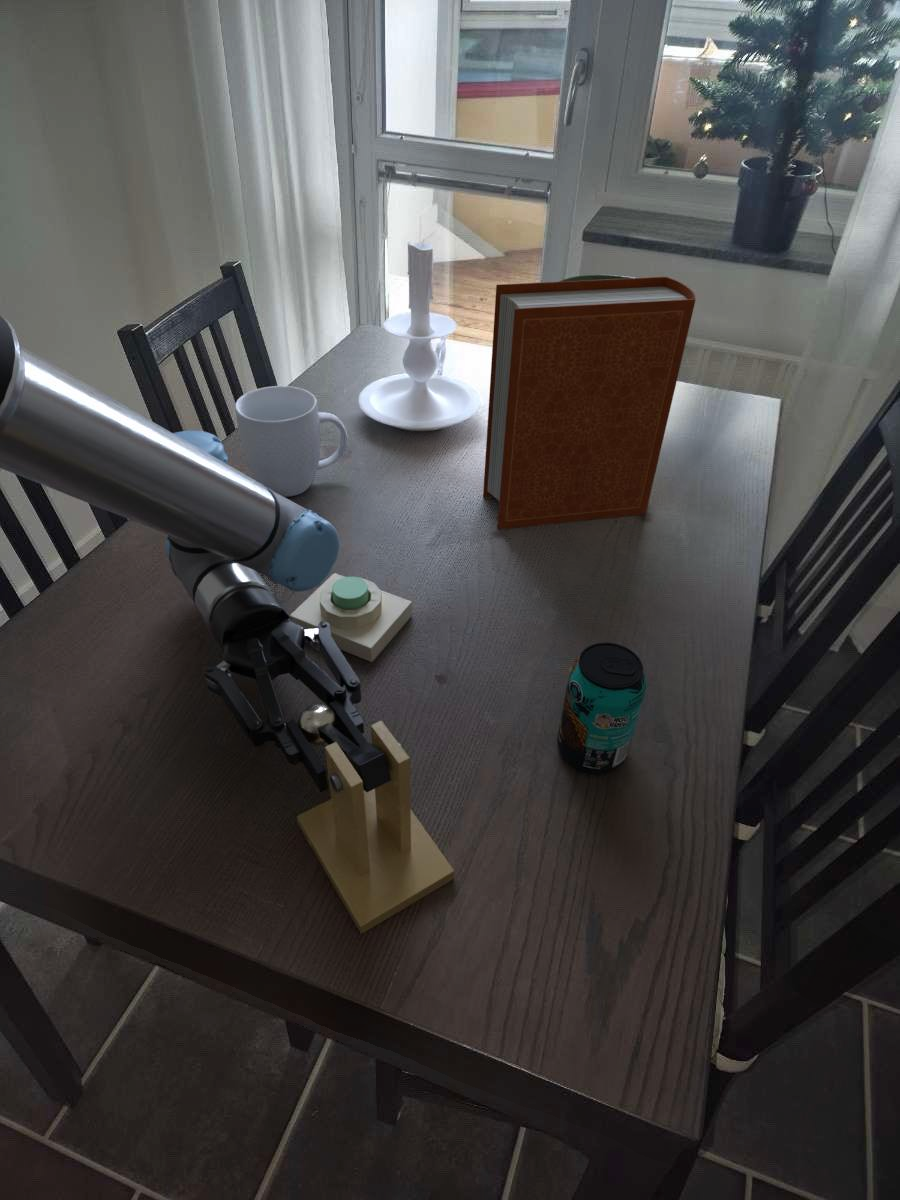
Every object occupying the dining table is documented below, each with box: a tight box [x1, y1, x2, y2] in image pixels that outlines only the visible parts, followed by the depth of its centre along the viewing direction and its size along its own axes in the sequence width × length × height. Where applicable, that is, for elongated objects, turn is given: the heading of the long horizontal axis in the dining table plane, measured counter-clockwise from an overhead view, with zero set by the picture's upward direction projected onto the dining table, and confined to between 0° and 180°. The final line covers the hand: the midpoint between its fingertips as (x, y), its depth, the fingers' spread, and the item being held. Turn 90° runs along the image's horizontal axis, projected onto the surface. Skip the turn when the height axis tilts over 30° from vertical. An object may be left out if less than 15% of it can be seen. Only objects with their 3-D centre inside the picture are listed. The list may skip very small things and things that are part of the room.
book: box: [482, 276, 697, 530], centre depth 99 cm, size 23×8×30 cm, turn 102°
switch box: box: [289, 572, 413, 663], centre depth 88 cm, size 11×9×4 cm
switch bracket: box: [296, 720, 455, 935], centre depth 62 cm, size 12×9×14 cm
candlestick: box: [357, 238, 483, 432], centre depth 121 cm, size 21×25×28 cm
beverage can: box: [556, 642, 648, 774], centre depth 72 cm, size 7×7×12 cm
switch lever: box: [297, 703, 391, 792], centre depth 64 cm, size 14×4×4 cm, turn 33°
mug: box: [234, 385, 348, 498], centre depth 107 cm, size 15×11×13 cm
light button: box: [332, 575, 368, 610], centre depth 86 cm, size 4×4×2 cm
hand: (345, 770), depth 65 cm, fingers closed on switch lever, 4 cm apart
